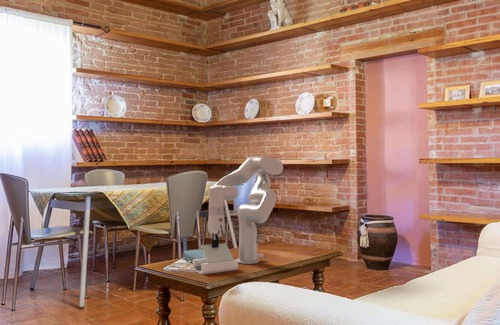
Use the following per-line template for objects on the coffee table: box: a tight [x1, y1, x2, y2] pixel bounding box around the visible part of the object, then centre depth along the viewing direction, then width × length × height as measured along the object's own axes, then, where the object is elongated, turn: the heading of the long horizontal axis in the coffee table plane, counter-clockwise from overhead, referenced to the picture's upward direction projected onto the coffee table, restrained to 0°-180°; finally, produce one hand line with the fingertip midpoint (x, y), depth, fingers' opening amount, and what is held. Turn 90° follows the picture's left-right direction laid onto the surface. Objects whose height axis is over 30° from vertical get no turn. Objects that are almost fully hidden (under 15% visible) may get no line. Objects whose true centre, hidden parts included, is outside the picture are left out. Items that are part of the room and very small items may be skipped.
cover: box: [200, 242, 235, 263], centre depth 240 cm, size 14×11×1 cm
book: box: [182, 248, 206, 263], centre depth 259 cm, size 23×16×5 cm
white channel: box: [192, 258, 239, 275], centre depth 241 cm, size 20×11×5 cm, turn 122°
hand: (215, 247), depth 241 cm, fingers closed
